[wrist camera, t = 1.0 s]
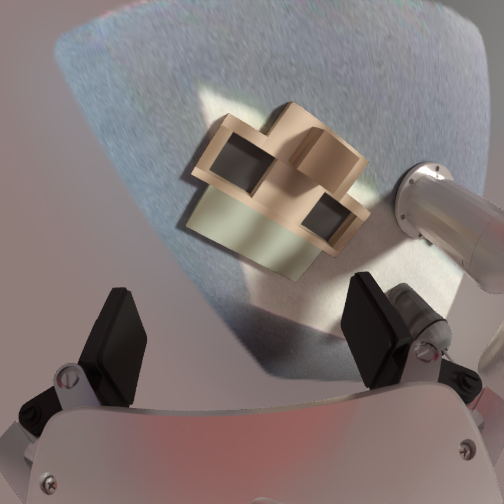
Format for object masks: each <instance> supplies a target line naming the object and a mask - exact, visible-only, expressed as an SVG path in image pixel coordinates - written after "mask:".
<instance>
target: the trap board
mask: <svg viewBox="0 0 504 504" xmlns="http://www.w3.org/2000/svg"><path fill="white" fill-rule="evenodd" d="M312 127H317V128H320V129H324V130H326V131H327V132H329V133H330V134H331V135H332V136H334V137H335V138H336V139H337V140H339V141H340V142H341V143H342V144H343V145H345V146H346V147H347V148H348V149H349V150H351V151H352V152H353V153H354V154H355V155H356V156H358V157H359V158H360V159H359V160H358V162H357V163H356V165H355V166H354V167H353V169H352V170H351V171H350V173H349V174H348V175H347V177H346V178H345V179H344V181H343V182H342V184H341V185H340V186H339V188H338V189H337V190H336V192H335V193H334V194H331V193H330V192H329V191H327V190H326V189H325V188H323V187H322V186H320V185H319V184H318V183H316V182H315V181H313V180H312V179H311V178H309V177H308V176H306V175H305V174H304V173H302V172H301V171H299V170H298V169H296V168H295V167H294V166H293V165H292V164H291V163H290V162H289V159H290V158H291V156H292V155H293V154H294V152H295V151H296V149H297V148H298V147H299V145H300V144H301V143H302V141H303V140H304V138H305V137H306V136H307V134H308V133H309V131H310V130H311V129H312ZM368 163H369V162H368V161H367V160H366V159H365V158H364V157H363V156H362V155H360V154H359V153H358V152H357V151H356V150H355V149H354V148H352V147H351V146H350V145H349V144H348V143H346V142H345V141H344V140H343V139H342V138H340V137H339V136H338V135H337V134H336V133H334V132H333V131H332V130H331V129H329V128H328V127H327V126H325V125H324V124H323V123H322V122H320V121H319V120H318V119H316V118H315V117H314V116H312V115H311V114H310V113H308V112H307V111H306V110H304V109H303V108H301V107H300V106H299V105H297V104H296V103H294V102H289V103H288V104H287V105H286V107H285V108H284V109H283V111H282V112H281V114H280V115H279V116H278V118H277V119H276V121H275V122H274V123H273V125H272V126H271V128H270V129H269V130H268V132H267V133H266V135H264V134H262V133H261V132H259V131H258V130H256V129H254V128H253V127H251V126H250V125H248V124H246V123H245V122H243V121H241V120H240V119H238V118H236V117H235V116H233V115H231V114H230V113H228V115H227V116H226V118H225V119H224V121H223V122H222V124H221V125H220V127H219V128H218V130H217V132H216V133H215V135H214V136H213V138H212V139H211V141H210V143H209V144H208V146H207V147H206V149H205V151H204V152H203V154H202V156H201V157H200V159H199V161H198V162H197V164H196V166H195V167H194V169H193V171H192V173H191V174H192V175H194V176H195V177H197V178H199V179H201V180H203V181H205V182H206V183H208V185H207V187H206V189H205V190H204V192H203V194H202V195H201V197H200V199H199V200H198V202H197V204H196V205H195V207H194V209H193V211H192V212H191V214H190V216H189V218H188V219H187V222H186V227H188V228H190V229H192V230H194V231H196V232H198V233H200V234H202V235H204V236H206V237H207V238H209V239H211V240H213V241H215V242H217V243H219V244H221V245H223V246H225V247H227V248H229V249H231V250H233V251H235V252H237V253H239V254H241V255H243V256H245V257H247V258H249V259H251V260H252V261H254V262H256V263H258V264H260V265H262V266H264V267H266V268H268V269H270V270H272V271H274V272H276V273H278V274H280V275H282V276H284V277H286V278H288V279H290V280H292V281H294V282H296V281H297V280H298V279H299V278H300V277H301V276H302V274H303V273H304V272H305V271H306V270H307V268H308V267H309V266H310V265H311V264H312V262H313V261H314V260H315V259H316V257H317V256H318V255H319V254H320V253H321V251H322V250H323V251H324V252H326V253H328V254H329V255H331V256H332V257H334V258H336V257H337V255H338V254H339V253H340V252H341V250H342V249H343V248H344V247H345V246H346V244H347V243H348V242H349V241H350V239H351V238H352V237H353V236H354V234H355V233H356V232H357V231H358V229H359V228H360V227H361V226H362V224H363V223H364V222H365V221H366V219H367V218H368V217H369V215H370V214H371V213H370V212H369V211H368V210H367V209H366V208H364V207H363V206H362V205H361V204H359V203H358V202H357V201H356V200H355V199H353V198H352V197H351V196H350V195H348V194H347V191H348V190H349V189H350V187H351V186H352V185H353V183H354V182H355V181H356V179H357V178H358V177H359V175H360V174H361V172H362V171H363V170H364V168H365V167H366V166H367V164H368Z"/></svg>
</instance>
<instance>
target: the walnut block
mask: <svg viewBox="0 0 504 504" xmlns="http://www.w3.org/2000/svg"><path fill="white" fill-rule="evenodd" d="M359 159H360V158H359V157H358V156H356V155H355V154H354V153H353V152H352V151H351V150H349V149H348V148H347V147H346V146H345V145H343V144H342V143H341V142H340V141H339V140H337V139H336V138H335V137H334V136H332V135H331V134H330V133H329V132H327V131H326V130H324V129H320V128H317V127H312V129H311V130H310V131H309V133H308V134H307V136H306V137H305V138H304V140H303V141H302V143H301V144H300V145H299V147H298V148H297V149H296V151H295V152H294V154H293V155H292V156H291V158H290V159H289V162H290V163H291V164H292V165H293V166H294V167H295V168H296V169H298V170H299V171H301V172H302V173H304V174H305V175H306V176H308V177H309V178H311V179H312V180H313V181H315V182H316V183H318V184H319V185H320V186H322V187H323V188H325V189H326V190H327V191H329V192H330V193H331V194H334V193H335V192H336V190H337V189H338V188H339V186H340V185H341V184H342V182H343V181H344V179H345V178H346V177H347V175H348V174H349V173H350V171H351V170H352V169H353V167H354V166H355V165H356V163H357V162H358V160H359Z"/></svg>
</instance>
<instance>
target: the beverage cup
mask: <svg viewBox="0 0 504 504" xmlns="http://www.w3.org/2000/svg"><path fill="white" fill-rule="evenodd" d="M389 299H390V301H391V303H392V306H393V307H394V309H395V310H396V312H397V313H398V315H399V316H400V318H401V319H402V321H403V322H404V324H405V325H406V327H407V329H408V330H409V332H410V333H411V335H412V337H413V338H414V340H418V339H429V340H431V341H433V342H435V343H436V344H437V345H438V346H439V348H440V349H441V352H442V356H443V355H444V354H445V356H446V357H447V358H448V359H449V360H450V362H453V363H455V361H454V360H453V359H452V358H451V357H450V355H449V354H448V353H447V351H448V349H449V347H450V344H451V339H452V336H451V335H452V333H451V329H450V327H449V325H448V322H447V321H446V319H444V318H443V317H442V316H440V315H439V314H438V313H436V312H435V311H434V310H433V309H432V308H431V307H430V306H429V305H428V304H427V303H426V302H425V301H424V300H423V299H422V298H421V297H420V296H419V295H418V294H417V293H416V292H415V291H414V290H413V289H412V288H411V287H410V286H408V284H406V283H401V284H399V285H397V286H396V287H395V288H393V290H392V291H391V293H390V295H389ZM455 364H456V363H455Z"/></svg>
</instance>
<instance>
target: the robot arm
mask: <svg viewBox="0 0 504 504" xmlns="http://www.w3.org/2000/svg"><path fill="white" fill-rule="evenodd" d="M395 216H396V220H397V222H398V225H399V227H400V228H401V229H402V230H403V231H404V232H405V233H406V234H407V235H408V236H410V237H412V238H416V239H424V238H427V239H428V240H429V241H430V242H432V243H433V244H434V245H435V246H436V247H437V248H438V249H440V250H441V251H442V252H443V253H444V254H445V255H446V256H447V257H448V258H449V259H451V260H452V261H453V262H454V263H455V264H456V265H457V266H458V267H459V268H460V269H461V270H462V271H463V272H464V273H465V274H466V275H467V276H468V277H469V278H470V279H471V280H472V281H473V282H474V283H476V285H478V287H480V288H481V289H482V290H484V291H485V292H488V293H490V294H504V210H502V209H501V208H499V207H498V206H496V205H494V204H493V203H491V202H489V201H488V200H486V199H484V198H483V197H481V196H479V195H477V194H476V193H474V192H472V191H470V190H468V189H467V188H465V187H463V186H461V185H459V184H457V183H455V182H454V180H453V177H452V175H451V173H450V172H449V170H448V169H447V168H446V167H444V166H443V165H441V164H439V163H436V162H432V161H429V162H423V163H420V164H418V165H417V166H415V167H413V168H412V169H411V170H410V171H409V172H408V173H407V175H406V176H405V177H404V179H403V181H402V182H401V184H400V186H399V189H398V192H397V195H396V200H395ZM341 329H342V331H343V334H344V336H345V338H346V341H347V343H348V345H349V348H350V350H351V352H352V355H353V357H354V360H355V362H356V365H357V367H358V369H359V372H360V374H361V377H362V379H363V382H364V384H365V386H366V387H367V388H368V387H369V388H370V390H369V391H365V392H360V393H356V394H351V395H346V396H341V397H336V398H331V399H325V400H320V401H313V402H307V403H300V404H292V405H285V406H276V407H266V408H255V409H240V410H217V411H175V410H153V409H138V408H129V405H132V404H133V401H134V396H135V392H136V387H137V382H138V377H139V373H140V369H141V364H142V360H143V356H144V352H145V348H146V344H147V335H146V332H145V330H144V327H143V325H142V322H141V319H140V317H139V314H138V311H137V308H136V305H135V302H134V300H133V297H132V294H131V292H130V291H127V289H126V288H124V287H123V288H122V287H120V288H112V290H111V292H110V294H109V296H108V298H107V300H106V302H105V304H104V306H103V308H102V310H101V312H100V315H99V317H98V319H97V320H96V322H95V324H94V326H93V328H92V331H91V333H90V335H89V337H88V339H87V342H86V344H85V346H84V349H83V351H82V354H81V356H80V358H79V361H78V364H75V363H68V364H65V365H63V366H61V367H60V368H59V369H58V370H57V371H56V373H55V375H54V379H53V383H54V386H52V387H51V388H49V389H47V390H46V391H44V392H43V393H41V394H39V395H38V396H36V397H34V398H33V399H31V400H30V401H28V402H26V403H25V404H24V405H23V406H22V407H21V409H20V412H19V422H18V423H17V422H16V421H14V423H13V424H12V425H11V426H10V427H9V428H8V429H7V430H6V432H5V433H4V434H3V435H2V436H1V437H0V471H1V473H2V475H3V476H4V478H5V479H6V480H7V482H8V483H9V485H10V486H11V488H12V489H13V490H14V492H15V493H16V495H17V496H18V497H19V498H20V499H21V501H22V502H23V504H503V501H502V497H501V493H500V489H499V485H498V481H497V478H496V474H495V471H494V468H493V467H494V465H495V464H496V462H497V460H498V458H499V456H500V454H501V452H502V449H503V448H504V321H503V322H502V324H501V325H500V327H499V328H498V330H497V331H496V333H495V334H494V336H493V337H492V339H491V340H490V342H489V343H488V345H487V346H486V348H485V349H484V351H483V353H482V355H481V357H480V360H479V363H478V374H477V373H476V372H474V371H472V370H470V369H468V368H465V367H463V366H460V365H458V364H455V363H453V362H450V361H447V360H445V359H443V358H442V352H441V349H440V348H439V346H438V345H437V344H436V343H435V342H433V341H431V340H429V339H418V340H414V338H413V337H412V335H411V333H410V332H409V330H408V329H407V327H406V325H405V324H404V322H403V321H402V319H401V318H400V316H399V315H398V313H397V312H396V310H395V309H394V307H393V306H392V304H391V303H390V301H389V300H388V299H387V297H386V296H385V294H384V293H383V291H382V290H381V288H380V287H379V285H378V284H377V283H376V281H375V280H374V278H373V277H372V275H371V274H370V273H369V272H357V273H355V274H354V276H352V277H351V279H350V284H349V288H348V293H347V298H346V302H345V307H344V311H343V315H342V319H341Z"/></svg>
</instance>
